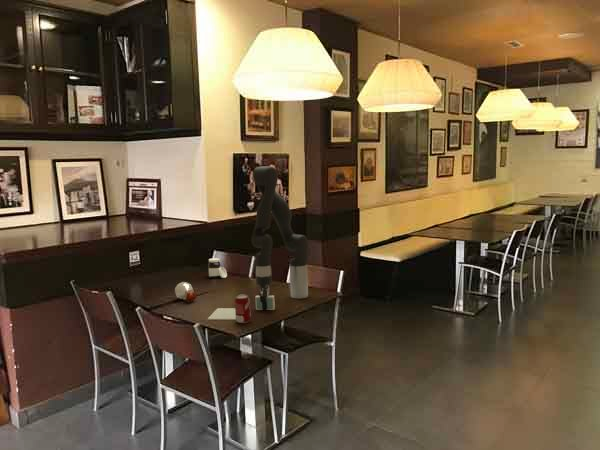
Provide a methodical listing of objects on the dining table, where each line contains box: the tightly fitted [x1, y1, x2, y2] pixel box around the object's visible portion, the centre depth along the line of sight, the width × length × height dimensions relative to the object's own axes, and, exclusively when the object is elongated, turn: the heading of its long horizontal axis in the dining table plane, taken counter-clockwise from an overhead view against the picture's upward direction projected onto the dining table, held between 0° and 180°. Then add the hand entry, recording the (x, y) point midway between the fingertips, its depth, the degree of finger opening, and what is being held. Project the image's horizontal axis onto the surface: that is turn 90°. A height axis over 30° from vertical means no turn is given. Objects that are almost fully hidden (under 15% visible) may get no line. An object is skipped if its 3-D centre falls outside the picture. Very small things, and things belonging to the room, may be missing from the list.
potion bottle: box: [174, 281, 197, 304], centre depth 261 cm, size 9×10×15 cm
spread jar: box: [208, 257, 228, 279], centre depth 310 cm, size 12×11×12 cm
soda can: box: [234, 294, 252, 324], centre depth 222 cm, size 7×7×12 cm
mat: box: [207, 307, 236, 321], centre depth 234 cm, size 16×14×1 cm
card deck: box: [254, 295, 276, 311], centre depth 241 cm, size 2×9×6 cm, turn 82°
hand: (265, 308), depth 241 cm, fingers closed on card deck, 2 cm apart
